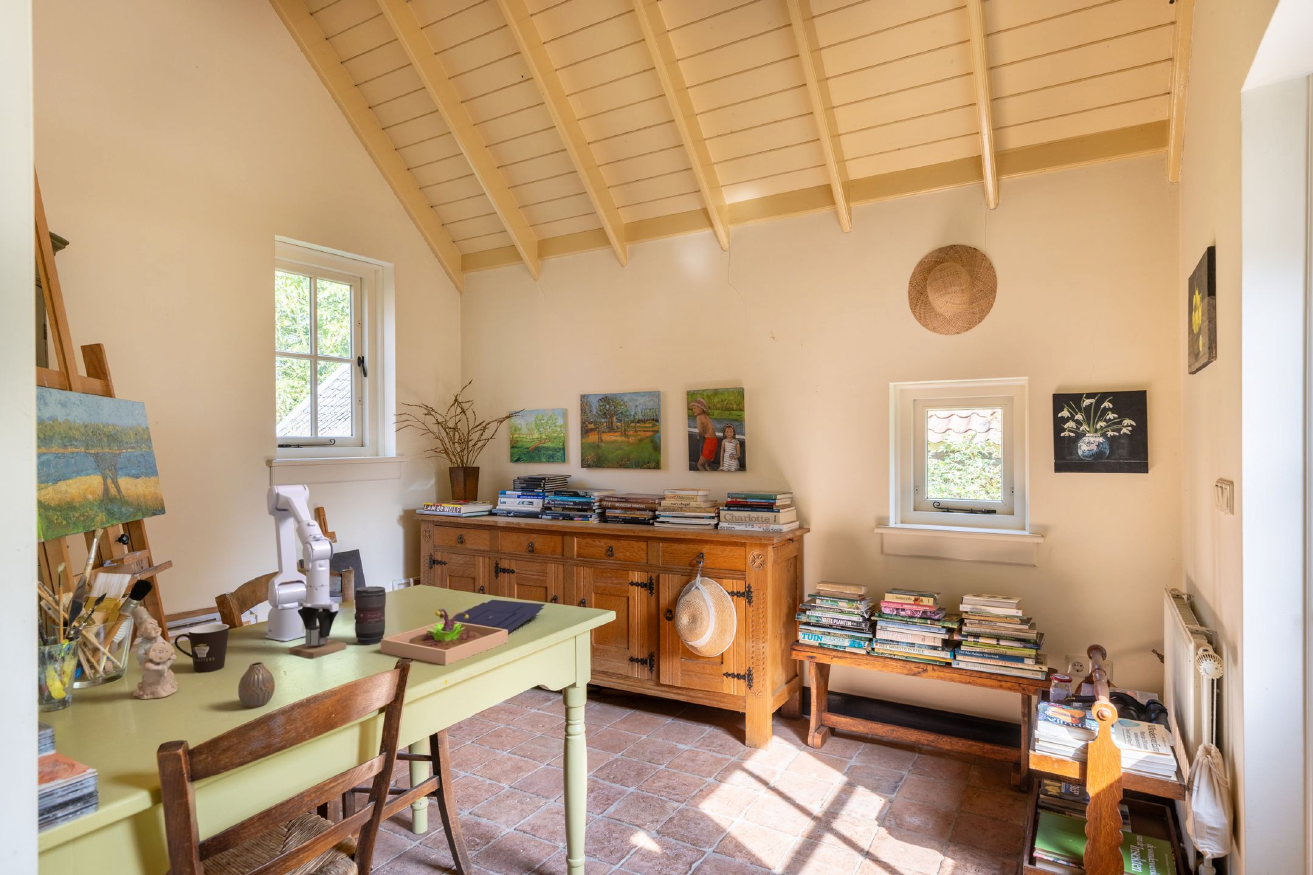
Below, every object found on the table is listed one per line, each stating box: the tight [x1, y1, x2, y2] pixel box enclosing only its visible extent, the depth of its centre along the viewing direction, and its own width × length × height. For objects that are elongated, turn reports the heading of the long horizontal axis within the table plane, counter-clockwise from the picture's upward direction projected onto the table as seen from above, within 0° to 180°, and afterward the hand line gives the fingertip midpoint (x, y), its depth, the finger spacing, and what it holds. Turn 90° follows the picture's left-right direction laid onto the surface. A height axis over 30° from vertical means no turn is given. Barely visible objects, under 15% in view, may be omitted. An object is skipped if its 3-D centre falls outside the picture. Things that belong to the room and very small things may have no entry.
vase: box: [237, 661, 276, 709], centre depth 155 cm, size 7×7×9 cm
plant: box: [409, 608, 484, 650], centre depth 198 cm, size 20×20×11 cm
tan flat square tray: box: [380, 620, 509, 666], centre depth 198 cm, size 24×24×4 cm
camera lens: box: [353, 585, 387, 645], centre depth 204 cm, size 8×8×15 cm
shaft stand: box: [288, 639, 347, 659], centre depth 195 cm, size 10×10×6 cm
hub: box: [304, 624, 329, 645], centre depth 195 cm, size 5×5×4 cm
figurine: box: [130, 606, 179, 700], centre depth 162 cm, size 9×8×20 cm
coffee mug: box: [174, 623, 230, 674], centre depth 181 cm, size 12×9×10 cm
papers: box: [449, 599, 546, 634], centre depth 224 cm, size 24×30×4 cm
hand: (318, 635), depth 195 cm, fingers closed on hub, 5 cm apart
